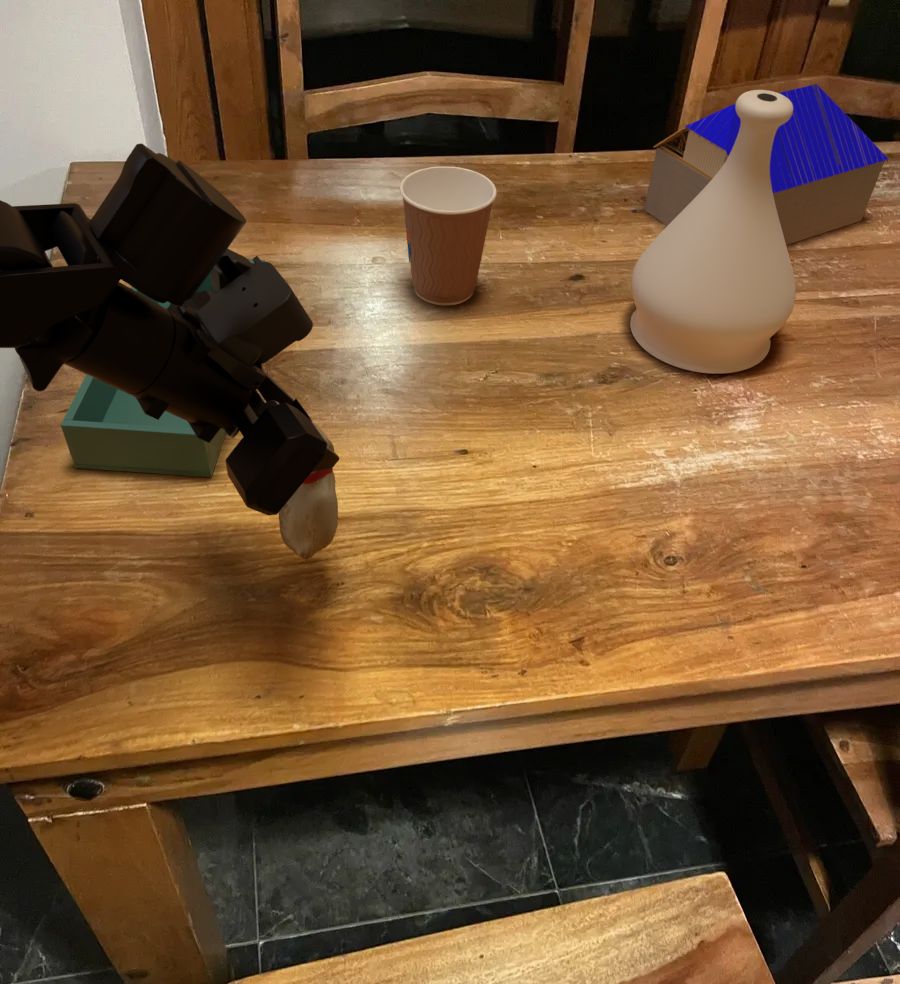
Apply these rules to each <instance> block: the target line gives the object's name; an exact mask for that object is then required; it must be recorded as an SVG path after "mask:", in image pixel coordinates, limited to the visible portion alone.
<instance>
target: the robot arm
mask: <svg viewBox="0 0 900 984" xmlns="http://www.w3.org/2000/svg"><path fill="white" fill-rule="evenodd" d="M246 224H247V219H246V217H245V216H244V215H243V213H242V212H241V211H240V210H239V209H238V208H237V207H236V206H235V205H234V204H233V203H232V202H231V201H230V200H229V199H228V198H227V197H226V196H225V195H223V194H222V193H221V192H220V191H219V190H218V189H217V188H216V187H215V186H214V185H212V184H211V183H210V182H209V181H208V180H206V179H205V178H203V177H202V176H201V175H200V174H199V173H197V172H196V171H195V170H194V169H192V168H191V167H190V166H188V165H187V164H186V163H184V162H183V161H182V160H180V159H178V160H177V161H175V160H173V159H172V158H170V157H169V156H167V155H165V154H163V153H160V152H158V153H156V152H154V151H153V150H152V149H151V148H150V147H148V146H146V145H145V144H144V143H137V144H136V145H134V147H133V149H132V150H131V152H130V153H129V155H128V156H127V158H126V160H125V161H124V163H123V167H122V170H121V172H120V174H119V176H118V178H117V180H116V181H115V183H114V184H113V186H112V187H111V189H110V190H109V192H108V193H107V195H106V196H105V198H104V199H103V201H102V203H101V204H100V205H99V207H98V208H97V210H96V212H95V213H94V214H93V216H92V218H90V217H88V215H87V214H86V211H84V209H83V208H82V206H81V205H80V204H78V203H76V202H69V203H51V204H50V203H49V204H33V205H32V204H31V205H11V204H9V203H8V202H5V201H3V200H2V199H1V200H0V349H14V350H15V352H16V354H17V355H18V356H19V360H20V363H21V364H22V366H23V369H24V371H25V373H26V375H27V377H28V380H29V382H30V384H31V386H32V388H33V389H34V391H36V392H44V391H45V390H46V389H48V387H49V385H50V384H51V382H52V381H53V379H54V378H55V376H57V374H58V372H59V371H60V370H61V368H62V366H63V365H65V366H68V367H69V368H72V369H74V370H77V371H78V372H80V373H83V374H85V375H86V374H87V375H89V376H91V377H93V378H95V379H98V380H100V381H102V382H104V383H106V384H108V385H110V386H113V387H115V388H117V389H119V390H121V391H123V392H126V393H128V394H130V395H132V396H134V397H136V399H137V400H138V402H139V404H140V406H141V408H142V409H143V411H144V413H145V414H146V415H148V416H151V417H153V418H155V419H157V420H159V418H160V417H161V416H162V414H163V413H164V412H165V411H166V412H169V413H171V414H173V415H175V416H177V417H179V418H181V419H184V420H186V421H188V423H189V424H190V426H191V428H192V429H193V431H194V433H195V434H196V436H197V438H199V439H201V440H204V441H206V442H208V443H210V442H211V440H212V439H213V438H214V436H215V435H216V434H217V433H218V431H219V430H220V429H221V428H222V429H224V430H225V432H226V435H227V436H228V437H230V438H231V439H234V438H236V437H237V435H238V434H239V433H240V434H241V435H242V438H241V439H240V440H239V441H238V443H237V444H236V445H235V447H234V448H233V449H232V451H231V452H230V453H229V455H228V456H227V457H226V458H225V468H226V472H227V476H228V477H229V480H230V481H231V483H232V485H233V487H235V490H236V492H237V493H238V494H239V496H240V498H241V500H242V501H243V503H244V505H245V506H246V508H249V509H250V510H252V511H255V512H259V513H261V514H264V515H266V516H277V515H279V511H280V510H281V509H282V508H283V507H284V505H285V504H286V503H287V502H288V500H289V499H290V498H291V497H292V496H293V494H294V493H295V492H296V491H297V490H298V488H299V487H300V486H301V485H302V483H303V482H304V481H305V480H306V479H307V477H308V476H309V475H310V474H311V473H312V472H314V471H321V470H328V469H331V468H334V467H335V466H336V465H337V464H338V462H339V461H340V456H339V454H337V453H336V452H335V450H334V451H332V450H331V449H330V448H329V447H328V446H327V442H326V441H325V440H324V438H323V437H322V435H321V434H320V433H319V431H318V430H317V428H316V427H315V426H314V424H313V423H314V422H313V420H312V418H311V416H309V413H308V412H307V411H306V410H305V408H304V407H303V405H302V404H301V403H300V402H299V400H298V398H295V399H294V398H293V397H292V396H291V395H290V394H289V393H288V392H287V391H285V389H284V388H283V387H282V386H281V385H280V384H279V383H278V382H277V381H275V379H273V377H272V376H271V375H270V374H268V372H267V371H266V370H264V368H263V364H265V363H268V362H269V361H271V360H272V359H273V358H274V357H275V356H277V355H279V354H280V353H281V352H283V351H284V350H286V349H287V348H288V347H290V346H291V345H292V344H294V343H295V342H301V341H302V340H303V339H305V338H307V336H308V335H309V334H311V332H312V330H313V326H314V325H313V324H314V323H313V320H312V319H311V318H310V315H309V314H308V313H307V311H306V309H305V308H304V306H303V305H302V304H301V302H300V300H299V298H298V297H297V295H296V294H295V292H294V291H293V289H292V287H291V286H290V285H289V283H288V282H287V281H286V279H285V278H284V277H283V276H282V275H281V273H280V272H279V271H278V270H277V269H276V267H275V266H274V265H273V263H271V262H269V261H265V262H262V261H261V260H262V259H260V257H259V256H258V255H256V256H254V257H253V258H251V259H252V260H253V261H254V263H255V264H253V263H251V262H250V261H249V260H248V259H249V258H247V257H245V256H244V255H242V254H240V253H238V252H235V251H233V250H232V249H229V247H230V246H231V244H232V243H233V242H234V240H235V239H236V238H237V236H238V235H239V233H240V232H241V231H242V229H243V228H244V227H245V225H246ZM54 248H57V249H58V251H59V253H60V254H61V256H62V258H63V259H64V261H65V263H66V265H59V266H53V264H52V262H51V260H50V258H49V256H48V255H47V253H46V252H47V251H50V250H53V249H54ZM210 272H211V281H212V285H213V287H214V288H215V292H214V291H213V289H210V290H209V291H201V292H197V293H196V291H197V290H198V288H199V287H200V286H201V284H202V283H203V282H204V280H205V279H206V277H207V276H208V275H209V273H210ZM121 281H123V282H125V284H124V283H122V282H121ZM126 284H128V285H129V286H130V287H129V286H127V285H126ZM131 286H132V287H134V288H135V289H136V290H138V291H139V292H141V293H142V294H144V295H146V296H147V297H149V298H151V299H153V300H155V301H157V302H160V303H165V302H166V301H167V302H169V303H171V304H170V305H169V307H168V308H167V309H166V308H164V307H162V306H160V305H159V304H157V303H155V302H153V301H152V300H150V299H148V298H146V297H145V296H143V295H141V294H140V293H138V292H136V291H134V290H133V289H131Z"/></svg>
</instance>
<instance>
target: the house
mask: <svg viewBox="0 0 900 984" xmlns="http://www.w3.org/2000/svg"><path fill="white" fill-rule="evenodd" d="M778 93H779V94H781V95H783V96H785V97H787V98H788V99H789V100H790V101H791V103H792V105H793V113H792V116H791V118H790V119H789V120H788V121H787V122H786V123H784V124H782V125H781V126H779V127H778V129H777V131H776V134H775V137H774V141H773V146H772V151H771V158H770V179H771V186H772V192H773V197H774V201H775V205H776V209H777V213H778V217H779V221H780V225H781V228H782V232H783V236H784V239H785V243H786V246H787V245H791V244H794V243H798V242H800V241H804V240H806V239H809V238H812V237H815V236H819V235H822V234H824V233H828V232H831V231H833V230H834V231H835V230H837V229H840V228H844V227H846V226H850V225H852V224H856V223H859V222H862V220H863V218H864V215H865V212H866V209H867V208H868V205H869V203H870V199H871V197H872V195H873V192H874V189H875V187H876V185H877V183H878V179H879V178H880V177H879V176H880V174H881V172H882V170H883V167H884V164H885V161H886V162H887V163H888V162H889V160H890V159H889V157H887V155H886V154H885V153H884V152H883V151H882V150H881V149H880V148H879V147H878V146H877V145H876V144H875V143H874V142H873V140H872V139H870V137H868V135H867V134H865V133H864V131H863V130H862V129H861V128H860V127H859V125H857V123H855V122H854V121H853V120H852V118H851V117H850V116H848V114H847V113H846V112H845V111H844V110H843V109H842V108H841V107H840V106H839V105H838V104H837V103H836V102H835V101H834V100H833V99H832V97H830V96H829V94H827V93H826V91H824V90H823V89H822V88H821V86H819V84H818V83H815V84H810V85H806V86H802V87H798V88H794V89H793V88H792V89H790V90H785V91H781V92H778ZM735 105H736V102H735V103H733V104H731V105H728V106H726V107H725V108H722V109H720V110H717V111H715V112H714V113H712V114H709V115H707V116H705V117H702V118H700V119H697V120H696V121H694V122H691V123H689V124H687V125H685V126H683V127H682V128H679V130H677V131H675V132H674V133H672V134H671V135H669V136H668V137H666V138H665V139H663V140H661V141H659V142H658V143H656V144H655V145H653V149H655V148H656V149H655V154H654V160H653V164H652V169H651V174H650V178H649V183H648V187H647V193H646V197H645V203H644V207H643V211H645V212H646V213H648V214H649V215H651V216H652V217H653V218H654V219H656V220H658V221H659V222H661V223H662V224H664V225H665V226H666V227H667V226H668V225H669V224H670V223H671V222H672V221H673V220H674V219H675V218H676V217H677V216H678V215H679V214H680V213H681V212H682V211H683V210H684V209H685V208H686V207H687V205H688V204H689V203H690V202H691V201H692V200H693V199H694V198H695V197H696V196H697V195H698V194H699V193H700V192H701V191H702V190H703V189H704V188H705V187H706V185H707V184H708V183H709V182H710V181H711V180H712V179H713V178H714V176H715V175H716V174H717V173H718V171H719V170H720V169H721V167H722V166H723V164H724V163H725V161H726V160H727V158H728V156H729V154H730V152H731V150H732V148H733V146H734V143H735V141H736V138H737V135H738V132H739V129H740V125H741V120H740V118H739V116H738V115H737V113H736V110H735Z"/></svg>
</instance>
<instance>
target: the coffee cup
mask: <svg viewBox="0 0 900 984" xmlns="http://www.w3.org/2000/svg"><path fill="white" fill-rule="evenodd" d="M399 192H400V195H401V197H402V203H403V210H404V221H405V231H406V232H405V233H406V243H407V255H408V262H409V263H410V264H409V265H410V273H411V281H412V284H413V288H414V292H415V295H417V296H418V298H420V299H421V300H422V301H424V302H426V303H428V304H432V305H437V306H445V307H447V306H456V305H459V304H462V303H464V302H467V300H469V299H471V297H472V296H473V294H474V292H475V288H476V285H477V281H478V277H479V274H480V273H479V272H480V269H481V264H482V263H481V262H482V257H483V252H484V247H485V243H486V236H487V232H488V227H489V223H490V218H491V211H492V206H493V202H494V201H495V199H496V198H497V188H496V185H495V184H494V182H493V181H492V180H491V179H489V178H488V176H486V175H484V174H482V173H480V172H477V171H475V170H472V169H469V168H464V167H457V166H449V165H447V166H446V165H440V166H430V167H424V168H421V169H418V170H415V171H413V172H411V173H409V174H408V175H406V176H405V177H404V178H402V180H401V182H400V184H399Z"/></svg>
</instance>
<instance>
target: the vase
mask: <svg viewBox="0 0 900 984" xmlns="http://www.w3.org/2000/svg"><path fill="white" fill-rule="evenodd" d="M779 93H780V92H776V91H772V90H768V89H767V90H766V89H751V90H748V91H745V92H743V93H742V94H741V95H739V96H738V98H737V99H736V101H735V103H736V105H735V110H736V113H737V115H738V116H739V118H740V120H741V125H740V129H739V132H738V135H737V138H736V141H735V143H734V146H733V148H732V150H731V152H730V154H729V156H728V158H727V160H726V161H725V163H724V164H723V166H722V167H721V169H720V170H719V171H718V173H717V174H716V175H715V176H714V178H713V179H712V180H711V181H710V182H709V183H708V184H707V185H706V187H705V188H704V189H703V190H702V191H701V192H700V193H699V194H698V195H697V196H696V197H695V198H694V199H693V200H692V201H691V202H690V203H689V204H688V205H687V207H686V208H685V209H684V210H683V211H682V212H681V213H680V214H679V215H678V216H677V217H676V218H675V219H674V220H673V221H672V222H671V223H670V224H669V225H668V226H667V225H666V226H665V228H664V229H662V231H661V232H660V233H659V234H658V235H657V236H655V238H654V239H653V240H652V241H651V242H650V243H649V245H648V246H647V247H646V248H645V249H644V250H643V252H642V253H641V255H640V256H639V257H638V259H637V261H636V263H635V265H634V267H633V270H632V274H631V281H630V286H631V294H632V298H633V302H634V304H635V308H636V309H634V311H633V312H632V315H631V317H630V323H629V324H630V330H631V331H630V332H631V333H632V336H633V337H634V339H635V341H636V342H637V343H638V345H639V346H640V347H641V348H642V349H643V350H645V352H647V353H649V354H650V355H651V356H652V357H655V358H656V359H658V360H660V361H662V362H664V363H666V364H668V365H671V366H673V367H676V368H678V369H683V370H685V371H689V372H694V373H695V372H696V373H703V374H712V375H713V374H714V375H715V374H719V375H720V374H732V373H738V372H741V371H744V370H748V369H750V368H753V367H755V366H756V365H758V364H759V363H761V362H763V360H764V359H765V358H766V357H767V355H768V353H769V352H770V349H771V338H772V336H774V335H775V334H776V333H777V332H778V331H779V330H781V329H782V327H783V326H784V325H785V324H786V323H787V322H788V320H789V318H790V316H791V315H792V312H793V310H794V307H795V305H796V304H795V303H796V297H797V296H796V295H797V289H796V280H795V275H794V270H793V265H792V262H791V258H790V254H789V251H788V246H787V245H786V243H785V239H784V236H783V232H782V228H781V225H780V221H779V217H778V213H777V209H776V205H775V201H774V197H773V192H772V186H771V179H770V158H771V151H772V146H773V141H774V137H775V134H776V131H777V129H778V127H779V126H781V125H782V124H784V123H786V122H787V121H788V120H789V119H790V118H791V116H792V113H793V105H792V103H791V101H790V100H789V99H788V98H787V97H785V96H783V95H781V94H779Z"/></svg>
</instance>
